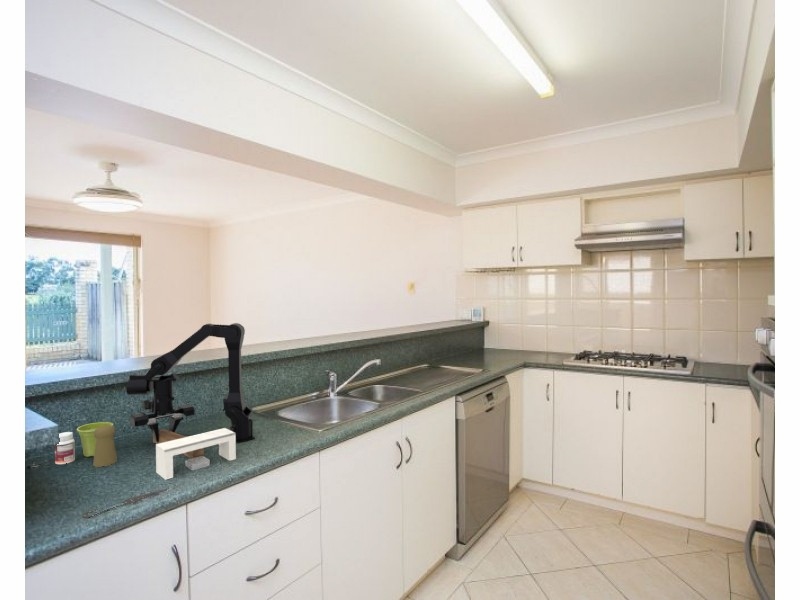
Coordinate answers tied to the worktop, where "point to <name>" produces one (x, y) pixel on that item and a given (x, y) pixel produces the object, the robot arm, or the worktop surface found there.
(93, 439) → the plant pot
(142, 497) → the throwing knife
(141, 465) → the worktop surface
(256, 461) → the worktop surface
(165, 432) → the walnut bar
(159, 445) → the white bridge block
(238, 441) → the robot arm
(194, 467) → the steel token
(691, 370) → the worktop surface
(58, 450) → the pill bottle
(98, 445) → the cork
